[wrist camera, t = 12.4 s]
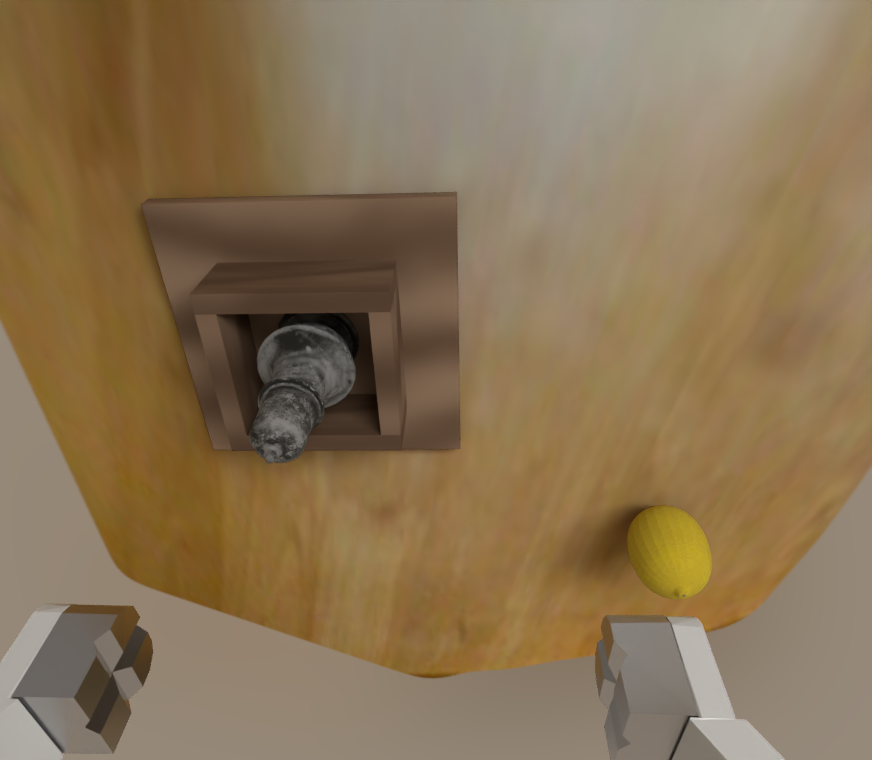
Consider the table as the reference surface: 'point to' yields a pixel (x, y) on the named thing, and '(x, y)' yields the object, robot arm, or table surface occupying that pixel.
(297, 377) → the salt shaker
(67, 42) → the table surface
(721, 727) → the robot arm
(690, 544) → the lemon
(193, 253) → the caddy
